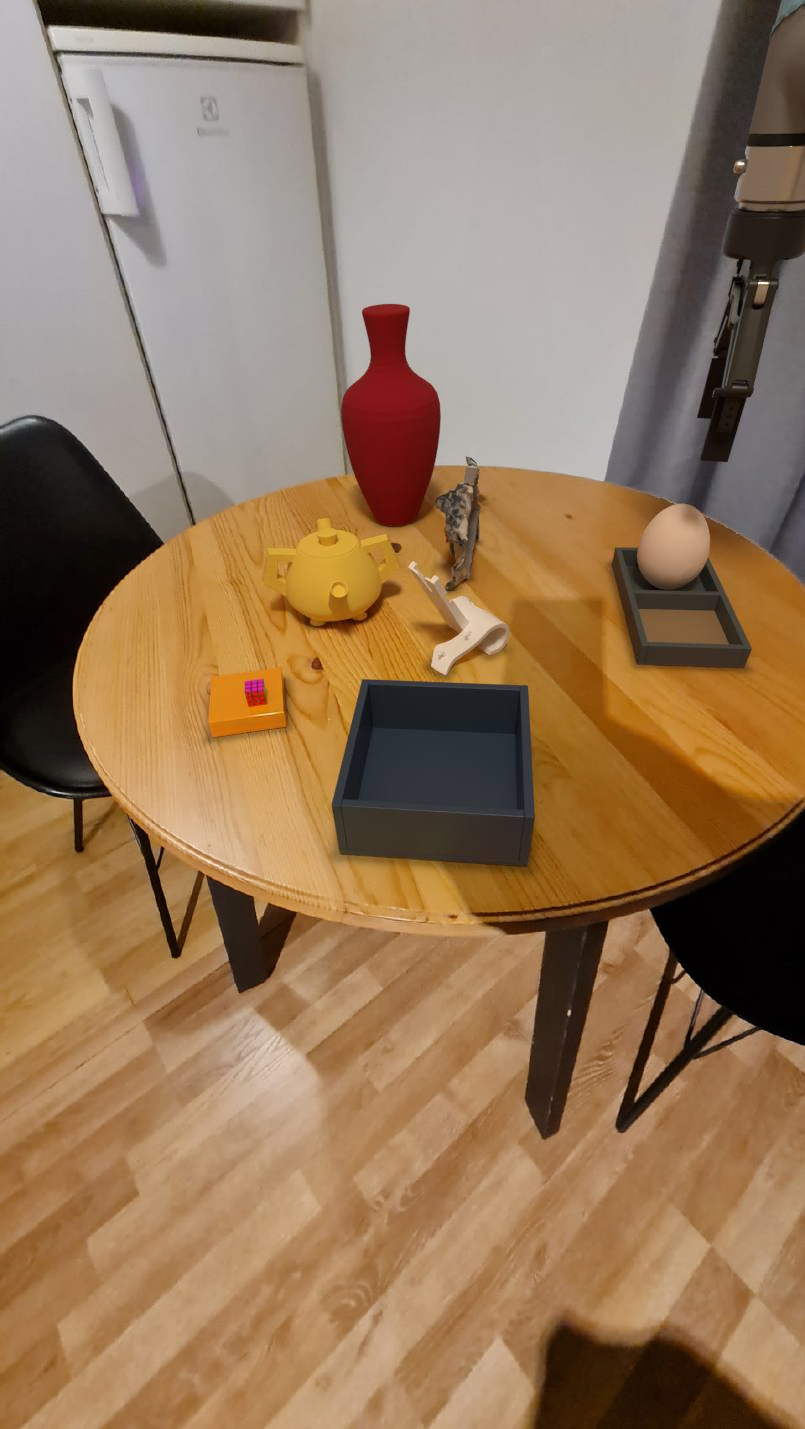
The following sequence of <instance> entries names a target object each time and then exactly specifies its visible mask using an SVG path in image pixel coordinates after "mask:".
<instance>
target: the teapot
mask: <svg viewBox="0 0 805 1429" xmlns="http://www.w3.org/2000/svg"><path fill="white" fill-rule="evenodd" d="M315 521H316V531H314V532H312V533H310V534H308V535H305V536H304V537H303V538H302V539H301V540H300V541H299V542H298V544H297V545H296V547H295V548H284V547H283V548H279V547H278V548H277V547H274V548H273V547H267V548H266V553H265V560H264V566H263V572H262V577H261V578H262V583H263V586H266V587H268V588H269V589H272V590H273V591H274V592H276V593H278V594H280V595H282V596H283V597H285V598H286V600H287V602H288V603H289V604H290V606H291V607H292V608H294V609H295V610H296V611H297V612H299V613H300V614H301V615H303V616H305V617H307V618H309V619H310V620H309V624H310V625H311V626H313V627H322V626H323V625H326V624H327V622H337V621H339V622H340V621H345V620H349V619H351V620H353V621H364V620H366V618H367V617H368V613H367V611H368V609H370V607H371V606H373V604H374V603H376V602H377V601H376V600H378V598H379V597H380V595H381V592H382V588H383V584H384V583H385V582H386V581H388V579H389V578H390V577H392V575H393V574H395V572H397V570H399V569H400V568H401V565H400V560H399V558H398V556H397V553H396V552H395V549H394V546H393V544H392V543H391V540H390V538H389V536H388V533H383V534H380V535H376V536H372V537H369V538H365V539H361V540H360V539H359V538H358V537H357V536H356V535H354V534H353V533H351V532H349V531H346V530H341V529H336V528H334V527H333V522H332V519H331V518H319V519H316V520H315ZM379 549H381V552H382V555H383V560H382V561H381V562H380V563H379V564H377V562H376V560H375V558H374V557H373V555H372V552H374V551H375V552H376V551H377V550H379ZM278 562H283V563H288V564H287V567H286V572H285V576H283V575H281V574H279V573H278V567H279V566H278V565H279V564H278Z"/></svg>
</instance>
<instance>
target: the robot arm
mask: <svg viewBox="0 0 805 1429" xmlns="http://www.w3.org/2000/svg"><path fill="white" fill-rule="evenodd" d="M768 42H769V43H768V48H767V52H766V57H765V61H764V65H763V69H762V70H763V71H762V74H761V78H760V82H759V88H758V91H757V96H756V100H755V101H756V102H755V106H754V109H753V114H752V118H751V123H750V127H749V131H748V138H747V141H746V147H745V151H744V155H745V159H744V158H743V159H738V160H736V161H735V163H734V166H733V173H734V174H741V175H740V176H739V177H738V178H737V180H738V181H737V184H736V188H735V193H734V197H733V199H734V200H735V201H736V202H737V203H739V204H738V206H737V207H735V208H733V209H732V211H731V212H729V215H728V218H727V223H726V227H725V230H724V231H725V232H724V235H723V240H722V244H721V250H720V251H721V254H722V255H723V256H724V257H726V258H729V259H732V260H736V264H735V266H736V267H735V270H734V271H735V272H734V275H733V276H732V277H731V280H730V282H729V287H728V292H727V298H726V301H725V305H724V309H723V312H722V315H721V319H720V321H719V325H718V328H717V332H716V335H715V337H714V338H713V346H714V347H713V350H712V353H713V354H712V356H713V357H711V360H710V365H709V368H708V372H707V376H706V380H705V384H704V387H703V391H702V396H701V399H700V404H699V408H698V410H697V416H696V418H697V419H703V420H706V419H707V420H709V425H708V427H707V431H706V432H707V433H706V436H705V439H704V444H703V447H702V451H701V453H700V454H701V455H700V461H704V462H715V463H716V462H717V463H719V462H720V463H729V459H730V456H731V452H732V449H733V446H734V442H735V439H736V436H737V432H738V429H739V426H740V422H741V419H742V416H743V411H744V409H745V406H746V402H747V399H748V398H751V397H752V395H753V394H754V391H755V387H754V386H755V382H756V378H757V374H758V373H757V372H758V370H759V369H758V368H759V365H760V360H761V356H762V353H763V352H762V351H763V348H764V342H765V339H766V334H767V330H768V326H769V321H770V316H771V312H772V309H773V304H774V300H775V297H776V294H777V290H778V289H779V286H780V283H779V281H780V279H779V278H775V276H774V273H775V268H776V264H777V263H778V262H780V261H781V260H782V261H783V260H784V261H790V260H794V259H798V258H800V257H801V256H803V255H804V254H805V0H781V1H780V5H779V9H778V12H777V16H776V19H775V22H774V25H772V28H771V32H770V34H769V41H768ZM778 291H779V290H778Z"/></svg>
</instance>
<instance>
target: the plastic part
mask: <svg viewBox="0 0 805 1429" xmlns="http://www.w3.org/2000/svg"><path fill="white" fill-rule="evenodd" d="M416 566H419V564H418V563H417V562H415V561H414V560H412V561H411V563H409V565H408V566H407V568H408V570H409V571H410V573H411V574H412V576H413V577H414V579H415V580H416V581H417V583H418V585H420V587H421V589H422V590H423V591H424V593H425V595H426V596H427V597H428V599H429V601H431V603H432V605H433V606H434V607H435V609H436V611H438V613H439V615H440V616H441V617H442V619H443V621H444V622H445V623H446V625H447V626H449V627H450V628H451V629H452V630H453V631H455V632H456V633H457V635H456V636H455V637H453V638H452V639H450V640H447V641H445V642H442V643H438V644H436V646H434V649H433V652H432V658H431V662H430V663H431V665H430V666H431V668H432V669H433V670H434V671H436V672H437V673H439V674H441V675H444V676H447V675H448V673H449V672H450V671H451V669H452V667H453V665H454V664H455V663H456V662H457V661H458V660H460V659H461V658H462V657H464V656H465V655H467V654H468V653H470V652H471V651H472V650H474V649H475V648H476V647H477V648H478V649H480V650H481V651H482V652H484V653H485V654H487V655H488V656H493V655H495V654H496V653H499V652H501V651H502V650H503V649H504V648H505V646H506V645H507V644H508V641H509V638H510V634H511V633H510V632H511V631H510V626H509V625H508V624H507V623H505V622H504V621H502V620H501V619H499V618H498V617H496V616H495V615H493V614H492V613H491V612H489V611H487V610H485V609H482V608H480V607H479V606H477V605H475V604H474V603H473V601H472V600H471V598H469V597H468V596H466V595H460V596H456V597H454V598H452V599H450V600H449V601H448V599H447V597H446V595H447V594H448V590H445V587H444V586H443V584H442V583H441V578H440V577H439V576H437V575H436V574H434V575H433V576H432V577H431V578H429V577H427V576H424V575H423V573H422V572H421V571H420V570H419V569H418V567H416Z"/></svg>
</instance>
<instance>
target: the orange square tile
mask: <svg viewBox="0 0 805 1429" xmlns="http://www.w3.org/2000/svg"><path fill="white" fill-rule="evenodd" d="M210 680H211V681H210V692H209V693H210V694H209V705H208V706H209V707H208V718H207V722H208V727H209V730H210V733H211V736H212V738H219V737H224V736H232V735H238V734H239V735H241V734H246V733H252V732H253V733H254V732H261V731H267V730H273V729H281V728H286V727H287V726H288V725H287V724H288V722H287V704H286V703H287V702H286V686H285V678H284V674H283V669H282V667H274V668H267V669H259V670H252V671H245V672H237V673H229V674H221V675H214V676H211V678H210Z"/></svg>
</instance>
